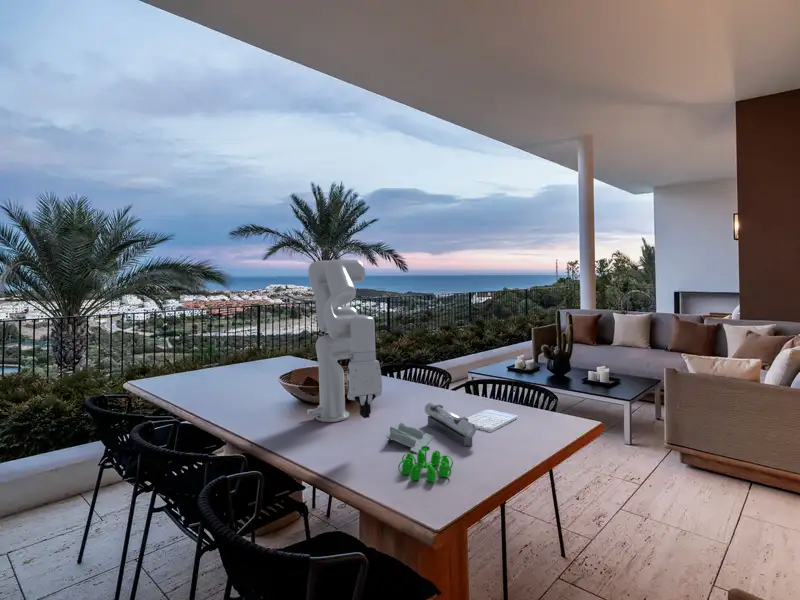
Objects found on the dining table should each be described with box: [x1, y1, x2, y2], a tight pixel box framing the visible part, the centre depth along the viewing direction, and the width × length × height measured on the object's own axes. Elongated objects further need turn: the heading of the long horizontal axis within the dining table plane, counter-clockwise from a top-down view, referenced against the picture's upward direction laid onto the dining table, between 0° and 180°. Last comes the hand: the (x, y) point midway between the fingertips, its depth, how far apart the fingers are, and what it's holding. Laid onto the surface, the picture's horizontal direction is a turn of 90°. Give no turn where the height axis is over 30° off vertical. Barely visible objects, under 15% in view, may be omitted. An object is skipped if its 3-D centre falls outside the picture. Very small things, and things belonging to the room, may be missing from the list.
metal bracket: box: [385, 422, 435, 455], centre depth 137 cm, size 14×6×15 cm
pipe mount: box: [424, 402, 477, 448], centre depth 144 cm, size 4×26×7 cm, turn 24°
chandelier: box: [397, 445, 454, 484], centre depth 115 cm, size 15×15×7 cm
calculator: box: [466, 408, 518, 433], centre depth 157 cm, size 13×20×2 cm, turn 137°
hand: (365, 416), depth 131 cm, fingers closed
